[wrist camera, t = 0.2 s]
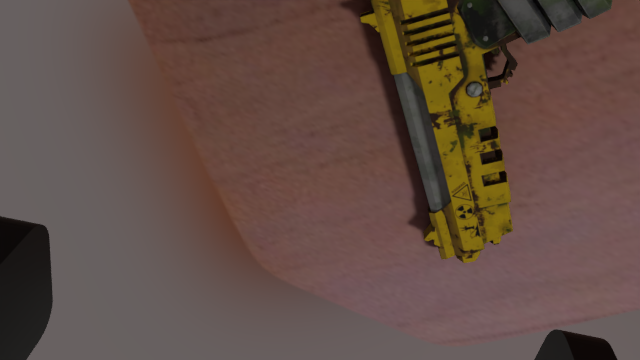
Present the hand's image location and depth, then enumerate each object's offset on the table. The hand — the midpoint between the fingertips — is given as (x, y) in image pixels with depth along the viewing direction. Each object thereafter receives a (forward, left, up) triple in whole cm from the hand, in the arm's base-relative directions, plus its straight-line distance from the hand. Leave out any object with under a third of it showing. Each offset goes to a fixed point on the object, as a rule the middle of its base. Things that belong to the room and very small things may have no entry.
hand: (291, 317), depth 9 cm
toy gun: (+5, +11, -29) cm, 32 cm away
